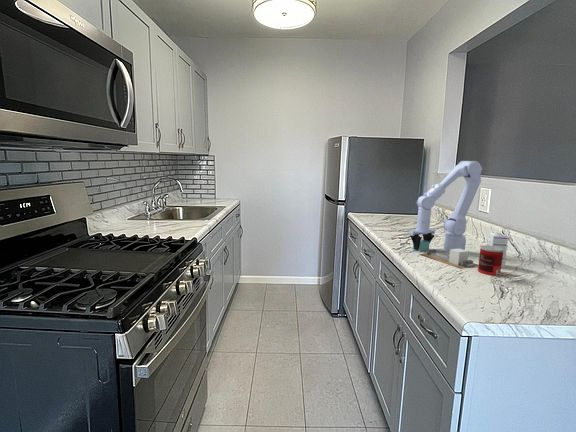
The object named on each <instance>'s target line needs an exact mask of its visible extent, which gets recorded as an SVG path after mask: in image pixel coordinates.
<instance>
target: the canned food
mask: <svg viewBox="0 0 576 432" xmlns="http://www.w3.org/2000/svg"><path fill="white" fill-rule="evenodd" d="M478 257H479V258H478V264H477V265H478V266H477V272H478V273H480V274H483V275H487V276H491V277H492V276H493V277H494V276H496V277H498V276H500V275H501V270H502V268H501V265H502V258H503V249H502V248H500V247H496V246H488V245H485V244H484V245H481V246H480V250H479V256H478Z"/></svg>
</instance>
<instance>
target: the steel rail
mask: <svg viewBox="0 0 576 432" xmlns="http://www.w3.org/2000/svg"><path fill="white" fill-rule="evenodd" d="M436 252H437V249H436V248H431V249H430V248H429V249H428V250H427V251H425V253H426V254H427V255H431V256H434V257H437V258H440V259H443V260H446V261H449V255H448V256H446V255H447V254H445V255H443V254H444V253H442V254H439V253H440V252H439V253H436ZM473 263H474V260H472V259H468V260H466V261H463V262H461V263H459V265H462V266H463V267H469V268H472V267H471V266H473Z"/></svg>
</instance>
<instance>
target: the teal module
mask: <svg viewBox="0 0 576 432" xmlns="http://www.w3.org/2000/svg"><path fill="white" fill-rule="evenodd" d="M429 243H430V244H431V242H430V241H426V240H423V238H421V241H420V244H419V249H418V250H415V249H414V246H412V252H413V251H414V252H413V253H415V252H416V253H418V252H427V250H428V249H430V244H429Z"/></svg>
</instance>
